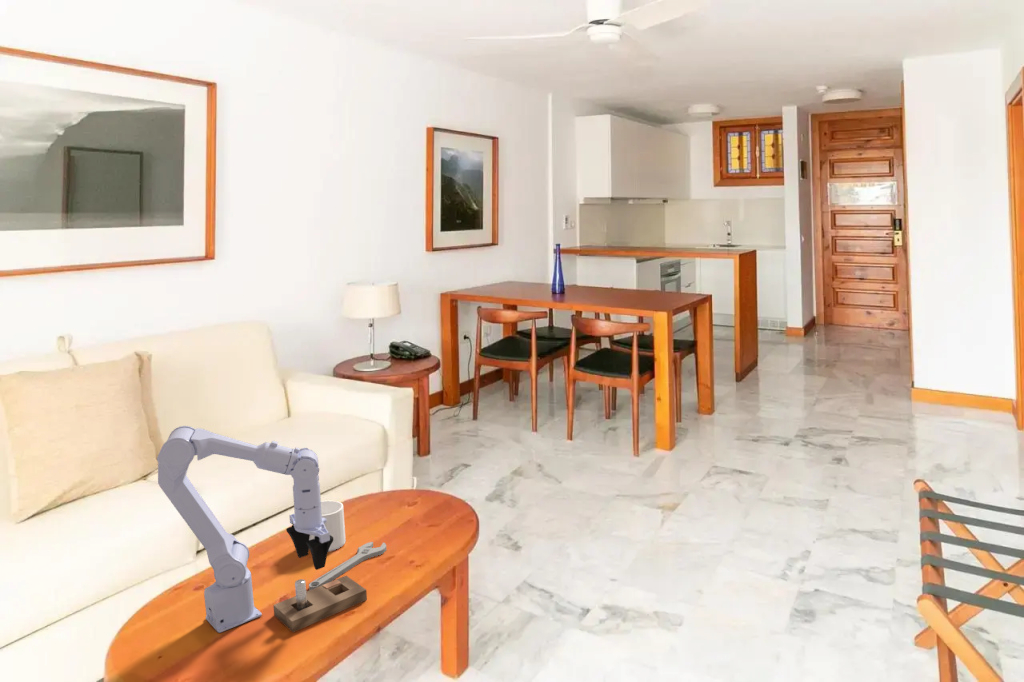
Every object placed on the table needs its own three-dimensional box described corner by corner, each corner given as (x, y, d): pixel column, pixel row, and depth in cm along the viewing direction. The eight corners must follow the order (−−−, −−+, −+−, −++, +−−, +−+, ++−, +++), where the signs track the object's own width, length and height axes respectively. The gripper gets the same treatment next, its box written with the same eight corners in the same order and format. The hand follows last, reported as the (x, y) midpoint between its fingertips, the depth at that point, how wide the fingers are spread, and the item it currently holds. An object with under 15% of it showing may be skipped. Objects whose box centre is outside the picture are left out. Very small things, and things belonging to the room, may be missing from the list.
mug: (323, 533, 193) (321, 498, 192) (353, 539, 189) (351, 503, 188) (292, 553, 182) (289, 516, 180) (323, 560, 178) (320, 522, 176)
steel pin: (300, 619, 152) (297, 585, 150) (295, 615, 153) (293, 581, 152) (309, 615, 153) (307, 581, 152) (305, 611, 155) (302, 578, 153)
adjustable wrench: (314, 594, 163) (314, 587, 162) (297, 586, 166) (296, 579, 166) (390, 550, 183) (390, 544, 183) (373, 544, 187) (372, 538, 186)
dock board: (292, 632, 147) (292, 620, 146) (274, 615, 153) (273, 604, 153) (366, 599, 159) (366, 588, 159) (346, 585, 165) (346, 574, 165)
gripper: (340, 508, 151) (344, 566, 154) (308, 490, 161) (311, 545, 164) (311, 518, 146) (315, 578, 149) (279, 499, 157) (283, 555, 159)
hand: (311, 561), depth 156 cm, fingers open, 7 cm apart
